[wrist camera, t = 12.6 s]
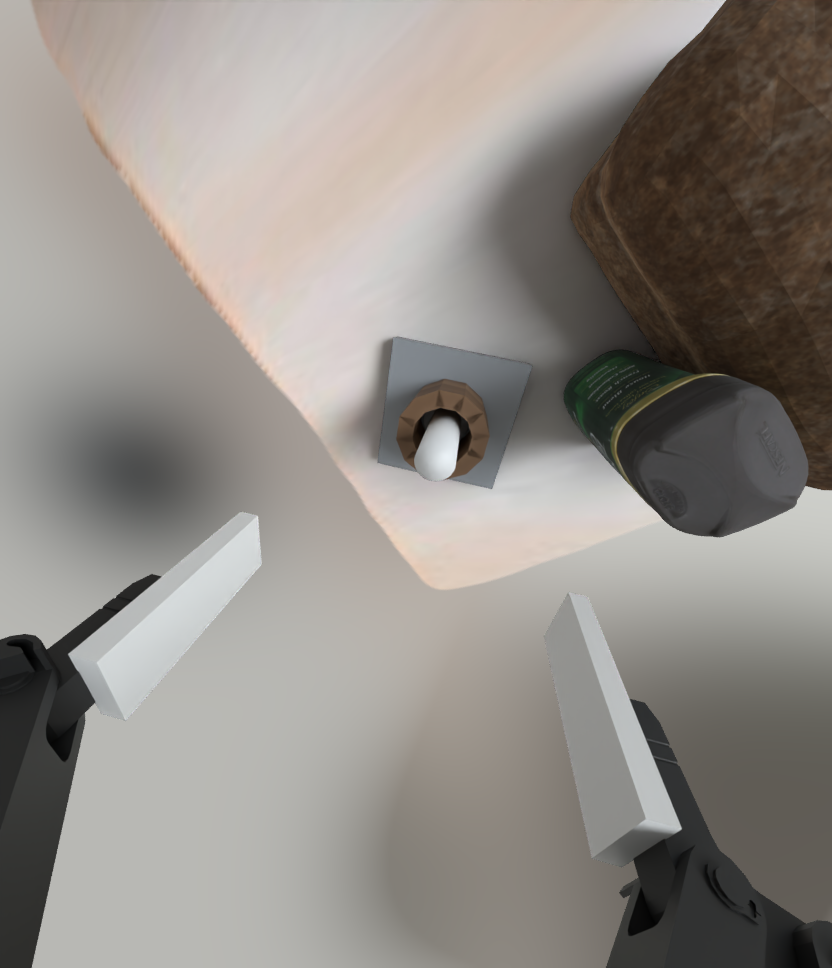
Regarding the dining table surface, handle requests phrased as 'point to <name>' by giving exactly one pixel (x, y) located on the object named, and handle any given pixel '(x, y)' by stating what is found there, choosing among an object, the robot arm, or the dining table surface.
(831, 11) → the bread
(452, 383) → the ring
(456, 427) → the post block
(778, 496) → the coffee jar
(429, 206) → the dining table surface
